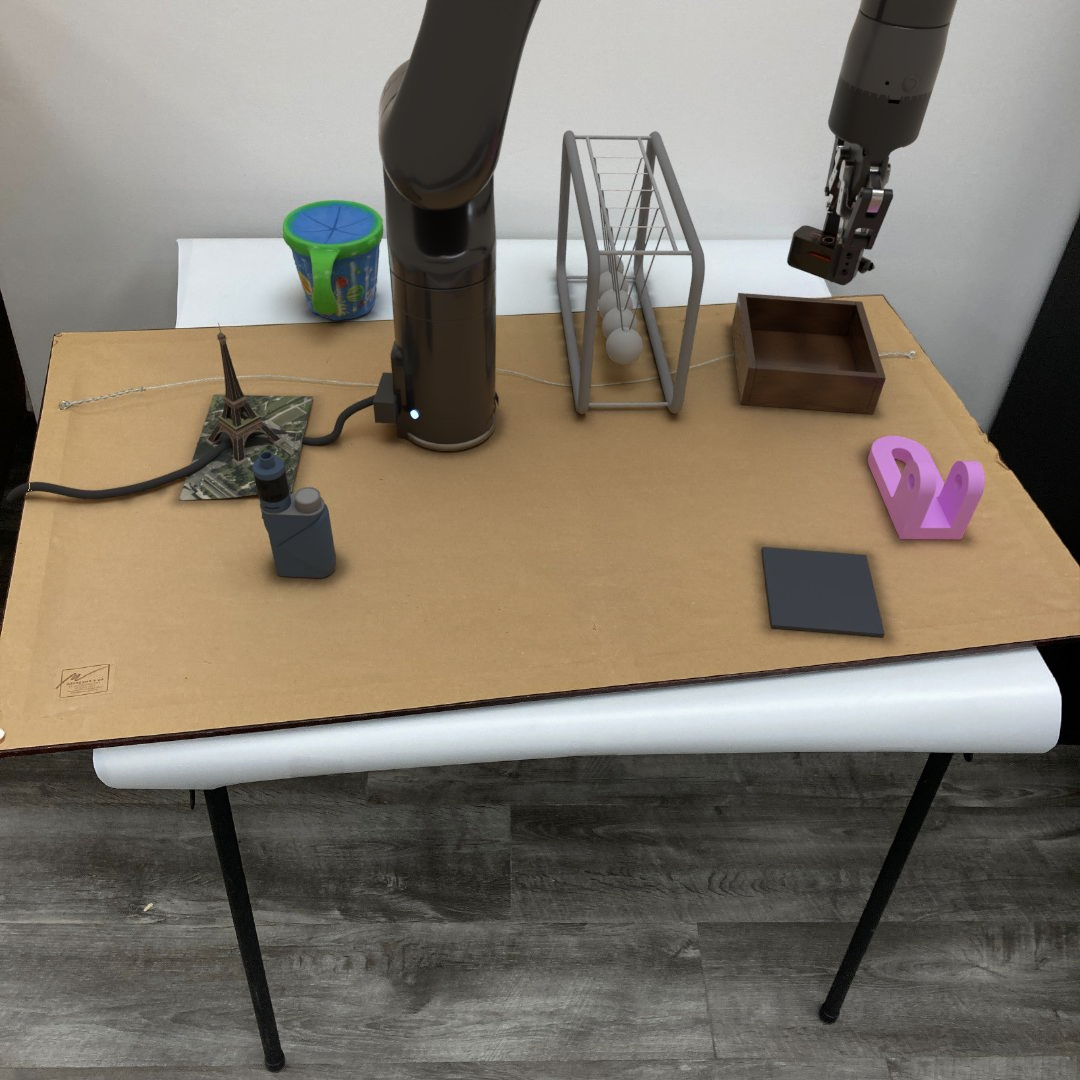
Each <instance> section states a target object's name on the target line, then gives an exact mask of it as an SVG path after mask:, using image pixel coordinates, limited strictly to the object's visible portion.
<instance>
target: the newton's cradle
mask: <svg viewBox="0 0 1080 1080" xmlns="http://www.w3.org/2000/svg"><path fill="white" fill-rule="evenodd" d="M576 140H585V142H586V146H587V150H588V155H589V160H590V164H591V168H592V172H593V177H594V181H595V186H596V190H597V195H598V204H599V212H600V222H601V229H602V238H603V248H604V250H602V249H601V250H600V249H599V245H598V240H597V239H598V238H597V234H596V230H595V226H594V221H593V215H592V211H591V206H590V201H589V197H588V191H587V187H586V182H585V177H584V174H583V169H582V164H581V160H580V154H579V150H578V145H577V141H576ZM591 140H607V141H609V140H610V141H611V140H613V141H614V140H615V141H617V140H620V141H637V142H638V146H639V149H640V151H641V156H640V157H639V156H594V152H593V148H592V144H591ZM643 141H647V142H646V149H645V146H644V143H643ZM597 159H639V163H638V166H637V169H636V172H598V165H597ZM642 160H643V161H644V164H643V165H644V166H643V172H639V170H640V167H641V164H642ZM656 160H657V162H658V165H659V167H660V171H661V173H662V176H663V179H664V183H665V185H666V188H667V191H668V193H669V196H670V199H671V200H670V201H671V202H672V206H673V208H674V211H675V214H676V217H677V219H678V222H679V225H680V228H681V231H682V235H683V237H684V240H685V243H686V246H687V249H688V250H679V249H678V246H677V243H676V239H675V237H674V234H673V231H672V228H671V225H670V222H669V219H668V215H667V212H666V209H665V206H664V204H663V200H662V198H661V195H660V191H659V188H658V186H657V182H656V179H655V177H654V173H655V165H656ZM560 164H561V165H560V166H561V167H560V185H559V199H558V200H559V202H558V219H557V220H558V221H557V238H556V239H557V241H556V242H557V243H556V257H555V258H556V260H555V261H556V262H555V263H556V264H555V266H556V269H555V270H556V272H555V273H556V281H557V287H558V295H559V301H560V309H561V317H562V323H563V330H564V336H565V337H564V338H565V345H566V351H567V357H568V358H567V359H568V365H569V372H570V378H571V385H572V392H573V400H574V406H575V410H576V412H577V414H580V415H584V414H587V412H588V411H589V408H614V407H615V408H618V407H619V408H624V407H625V408H627V407H629V408H630V407H633V408H634V407H636V408H637V407H641V408H643V407H667V409H668V411H669V412H670V413H671V414H678V413H680V412H681V410H682V409H683V406H684V401H685V394H686V390H687V389H686V388H687V384H688V383H687V382H688V377H689V371H690V365H691V360H692V358H691V357H692V353H693V349H694V348H693V347H694V341H695V335H696V331H697V324H698V319H699V318H698V317H699V312H700V305H701V301H702V300H701V299H702V295H703V287H704V282H705V276H706V274H705V273H706V260H705V254H704V250H703V247H702V245H701V242H700V240H699V236H698V234H697V231H696V228H695V225H694V223H693V220H692V217H691V215H690V211H689V209H688V206H687V203H686V201H685V198H684V196H683V192H682V189H681V187H680V185H679V182H678V179H677V176H676V173H675V171H674V168H673V165H672V162H671V160H670V158H669V155H668V152H667V150H666V146H665V143H664V140H663V139H662V136H661V134H660V132H658V131H656V130H655V131H652V132H650V133H649V134H648V135H593V134H592V135H587V134H586V135H585V134H583V135H582V134H581V135H580V134H575V133H574V131H573V130H570V129H569V130H566V131H565V132H564V133H563V136H562V145H561V161H560ZM601 175H634V178H633V182H632V185H631V189H602V184H601ZM638 175H642V184H641V188H640V189H634V186H635V183H636V180H637V176H638ZM571 180H572V185H573V190H574V195H575V200H576V205H577V206H576V207H577V210H578V211H577V212H578V217H579V219H580V220H579V221H580V226H581V231H582V237H583V242H584V247H585V253H586V259H587V275H567V245H568V231H569V229H568V228H569V213H570V211H569V209H570V193H571ZM604 191H610V192H611V191H615V192H617V191H619V192H624V191H625V192H629V195H628V198H627V201H626V205H625V207H617V206H616V207H610V206H609V207H608V206H607V207H606V200H605V192H604ZM632 192H639V195H638V198H637V200H636V205H635V207H628V205H629V203H630V199H631V195H632ZM653 193H654V195H655V199H656V202H657V204H658V207H651V199H652V194H653ZM609 209H624V210H623V214H622V217H621V221H620V224H619V226H618V225H611V224H610V215H609ZM627 209H629V210H630V209H632V210H633V214H632V218H631V221H630V224H629V226H627V225H626V226H625V225H623V222H624V219H625V215H626V213H627ZM650 209H651V210H655V213H654V216H653V220H652V222H651V226H648V224H649V217H650ZM637 210H638V219H637V220H638V221H637V226H634V225H633V222H634V218H635V215H636V212H637ZM659 211H660V213H661V217H662V220H663V223H664V226H655V225H654V224H655V221H656V218H657V215H658V212H659ZM622 225H623V226H622ZM613 228H618V229H617V234H616V237H615V239H614V231H613ZM621 228H628V231H627V234H626V236H625V241H624V244H623V246H622V250H617V248H616V244H617V241H618V238H619V234H620V232H621ZM632 228H637V229H636V237H635V241H634V244H633V246H632V250H625V248H626V245H627V241H628V238H629V235H630V232H631V229H632ZM654 228H655V229H657V228H662V229H661V232H660V234H659V237H658V240H657V244H656V247H655V250H646V248H647V245H648V242H649V239H650V236H651V233H652V230H653V229H654ZM648 229H649V231H648ZM665 229H666V232H667V235H668V239H669V241H670V245H671V248H672V250H658V248H659V245H660V241H661V239H662V236H663V233H664V230H665ZM647 233H648V235H647ZM623 256H630V257H629V260H628V263H627V266H626V269H625V265H624V262H623V260H622V258H623ZM644 256H652V257H651V262H650V265H649V266H648V267H649V268H648V271H647V273H646V276H645V275H644ZM656 256H690V257H691V279H690V284H689V285H690V286H689V290H688V291H689V292H688V298H687V304H686V311H685V316H684V322H683V323H684V324H683V330H682V335H681V342H680V348H679V354H678V360H677V366H676V373H675V379H674V382H673V379H672V375H671V371H670V367H669V365H668V361H667V357H666V353H665V349H664V345H663V343H662V342H663V341H662V338H661V334H660V330H659V328H658V323H657V320H656V319H657V318H656V316H655V312H654V308H653V304H652V301H651V297H650V294H649V290H648V286H647V281H648V278H649V275H650V272H651V270H652V268H653V267H652V266H653V263H654V261H655V258H656ZM632 258H633V275H627V274H628V270H629V268H630V264H631V261H632ZM624 272H625V274H624ZM568 280H586V291H585V304H584V316H583V317H584V318H583V329H582V330H583V331H582V343H581V355H580V354H579V348H578V341H577V337H576V330H575V323H574V317H573V310H572V305H571V304H572V303H571V298H570V292H569V285H568ZM628 280H633V281H632V283H631V288H630V290H629V282H628ZM634 285H636V290H637V294H638V301H637V304H636V307H635V310H634V312H633V309H634V302H633V299H632V297H631V295H632V291H633V289H634ZM639 305H641V309H642V314H643V316H644V320H645V324H646V329H647V332H648V336H649V341H650V344H651V348H652V352H653V355H654V359H655V363H656V367H657V371H658V376H659V378H660V383H661V387H662V391H663V394H664V399H665V401H664V402H661V401H659V402H590V400H591V399H590V397H591V388H592V376H593V366H594V365H593V364H594V355H595V354H594V352H595V342H596V329H597V319H598V313H599V315H600V318H601V319H602V323H601V330H602V333H603V336H604V337H605V338H606V343H605V350H606V354H607V355H608V357H609V359H610V360H611V361H612V362H614V363H616V364H617V365H623V366H625V365H631V364H633V363H635V362H636V361H637V360H638V359H639V358H640V356H641V355H642V352H643V347H644V346H643V345H644V343H643V339H642V337H641V335H640V334H639V333H638V328H639V327H638V326H639V324H638V323H639V322H638V319H637V317H636V314H637V311H638V310H639V309H638V308H639ZM580 356H581V357H580Z"/></svg>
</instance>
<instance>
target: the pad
mask: <svg viewBox="0 0 1080 1080" xmlns="http://www.w3.org/2000/svg"><path fill="white" fill-rule="evenodd" d="M761 557H762V564H763V573H764V580H765V588H766V589H765V591H766V597H767V606H768V613H769V620H770V621H769V622H770V628H771V629H780V630H791V631H804V632H805V631H806V632H816V633H828V634H829V633H830V634H842V635H853V636H855V635H856V636H866V637H878V638H879V637H880V638H884V637H885V635H886V634H885V629H884V626H883V622H882V621H883V620H882V616H881V612H880V608H879V603H878V600H877V594H876V591H875V587H874V583H873V578H872V573H871V569H870V564H869V561H868V556H867V554H862V553H861V554H859V553H849V552H848V553H847V552H834V551H822V550H821V551H820V550H810V549H797V548H783V547H770V546H762V547H761Z"/></svg>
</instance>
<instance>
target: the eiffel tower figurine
mask: <svg viewBox="0 0 1080 1080" xmlns="http://www.w3.org/2000/svg"><path fill="white" fill-rule="evenodd" d="M217 324H218V328H219V333H218V334H217V335H216V336H217V337H216V339H217V341H218V342H219V348H220V354H221V360H222V361H221V362H222V369H223V377H224V388H225V391H224V394H213V395H212V399H211V401H210V405H209V407H208V411H207V414H206V417H205V420H204V423H203V427H202V428H201V432H200V435H199V438H198V441H197V443H196V446H195V450H194V452H193V456H192V459H191V462H190V464H192V463H194V462H196V461H197V460H199V459H200V458H202V457H203V456H205V455H206V454H207V453H209V452H210V451H211V450H213V449H214V448H215V447H217V446H218V445H219V444H221V443H222V442H224V441H225V440H227V439H229V438H231V440H232V443H233V445H231V446H230V447H228V448H227V449H225V450H224V451H223V452H221V454H220V455H219V456H218V457H217V458H215V459H214V460H213V461H212V462H210V463H209V464H207V465H206V466H205V467H203V468H201V469H200V470H198V471H196V472H195V473H193V474H191V475H189V476H186V477H185V480H184V484H183V487H182V490H181V493H180V496H179V499H178V501H191V500H193V501H194V500H215V499H216V500H217V499H229V498H230V499H231V498H240V497H248V496H256V495H257V496H258V491H257V487H256V482H255V477H254V473H253V468H252V466H253V463H254V462H255V461H256V460H257V459H258V458H259V455H260V453H262V452H264V451H270V452H272V453H273V455H274V456H277V457H280V458H281V459H282V460H283V462H284V466H285V471H286V476H287V482H288V487H289V492H290V494H292V491H293V487H294V482H295V478H296V474H297V469H298V465H299V462H300V456H301V449H302V446H303V444H302V441H303V436H305V431H306V428H307V423H308V419H309V414H310V411H311V408H312V404H313V400H314V396H313V395H311V396H310V395H255V394H254V395H253V394H252V395H251V394H244V392H243V391H242V388H241V385H240V383H239V380H238V377H237V374H236V371H235V367H234V364H233V361H232V358H231V355H230V351H229V348H228V344H227V338H228V337H226V335H225V333H223V332H222V330H221V326H220V322H218V323H217ZM270 428H272V429H278V430H283V431H286V432H288V433H290V434H275V433H274V432H273V431H272V430H271V429H270ZM253 432H263V433H265V435H257V436H253V437H249V438H247V437H248V436H249V435H250V434H251V433H253Z"/></svg>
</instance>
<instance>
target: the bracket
mask: <svg viewBox="0 0 1080 1080" xmlns="http://www.w3.org/2000/svg"><path fill="white" fill-rule="evenodd" d="M896 460H898V461H900V462H903V463H904V464H905V466H904V469H903V471H902V473H901V471H900V468H899V467H898V464H897V462H896ZM867 463H868V466H869V469H870V471H871V474H872V476H873V478H874V479H873V480H874V481H875V483H876V485H877V488H878V490H879V491H878V492H879V493H880V496H881V498H882V500H883V503H884V505H885V507H886V510H887V512H888V514H889V516H890V519H891V522H892V524H893V527H894V529H895V531H896V534H897V536H898V538H899V540H962V539H963V537H964V535H965V532H966V531H967V529H968V527H969V524H970V522H971V519H972V518H973V516H974V514H975V512H976V509H977V508H978V505H979V503H980V501H981V499H982V497H983V494H984V491H985V485H986V481H985V480H986V476H985V472H984V468H983V466H982V464H981V463H980V462H979V461H977V460H957V461H955V462H954V463H952V466H951V468H950V470H949V472H948V475H947V477H946V479H945V481H944V479H943V477H942V475H941V473H940V472H939V469H938V467H937V466H936V463H935V462H934V459H933V458H932V455H931V453H930V451H929V450H928V449H927V448H926V447H925V446H924V445H922V444H921V443H919V442H918V441H916V440H914V439H911V438H908V437H904V436H900V435H886V436H882V437H879V438H877V439H876V440H875V441H874V442H873V443H872V445H871V448H870V451H869V454H868V456H867Z"/></svg>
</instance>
